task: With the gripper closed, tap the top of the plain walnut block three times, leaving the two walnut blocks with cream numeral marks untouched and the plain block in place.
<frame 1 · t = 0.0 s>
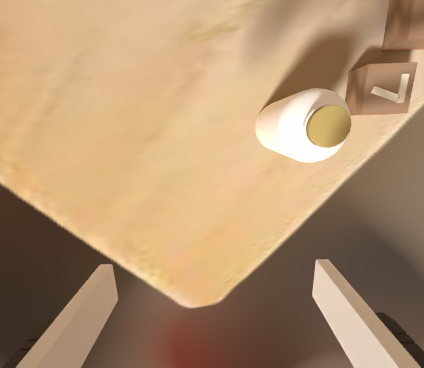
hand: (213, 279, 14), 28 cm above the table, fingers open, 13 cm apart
potion bottle: (277, 126, 39), on the table
marked block seven: (365, 93, 37), on the table
plain block: (407, 25, 34), on the table
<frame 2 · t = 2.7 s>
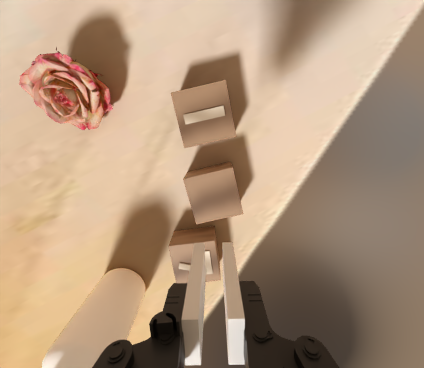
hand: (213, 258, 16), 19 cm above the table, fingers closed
potion bottle: (125, 283, 40), on the table
marked block seven: (197, 246, 38), on the table
plain block: (213, 187, 35), on the table
flower: (91, 98, 32), on the table
marked block one: (205, 117, 32), on the table
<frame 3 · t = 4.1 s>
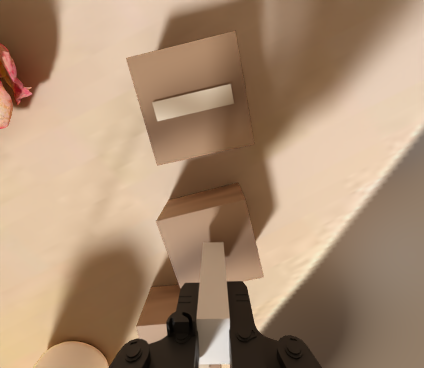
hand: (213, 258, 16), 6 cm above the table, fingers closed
potion bottle: (80, 360, 27), on the table
marked block seven: (186, 308, 25), on the table
plain block: (212, 222, 22), on the table
flower: (0, 77, 18), on the table
marked block one: (198, 109, 19), on the table
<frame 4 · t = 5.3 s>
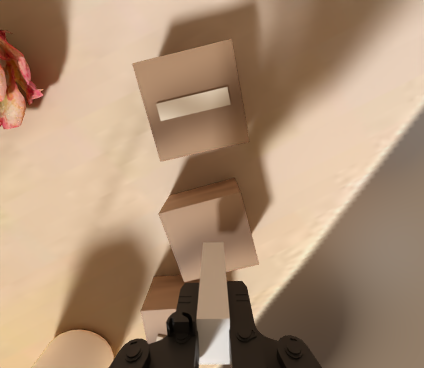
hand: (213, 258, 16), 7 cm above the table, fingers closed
potion bottle: (85, 348, 28), on the table
marked block seven: (187, 298, 26), on the table
plain block: (210, 216, 23), on the table
flower: (12, 79, 20), on the table
marked block one: (197, 109, 20), on the table
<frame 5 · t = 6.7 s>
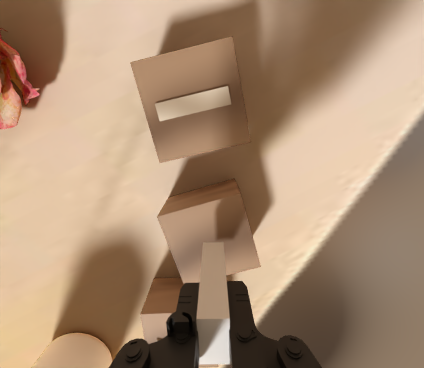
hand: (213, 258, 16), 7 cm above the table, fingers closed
potion bottle: (83, 351, 28), on the table
marked block seven: (186, 301, 26), on the table
plain block: (211, 217, 23), on the table
flower: (8, 78, 19), on the table
marked block one: (197, 109, 20), on the table
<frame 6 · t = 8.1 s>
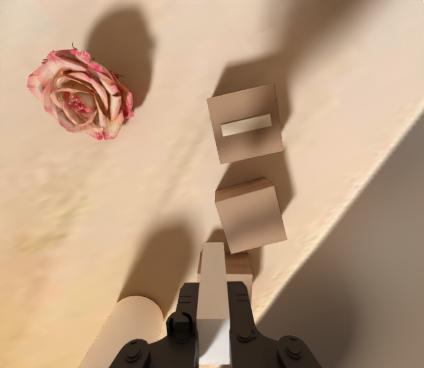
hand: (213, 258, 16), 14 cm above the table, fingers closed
potion bottle: (140, 312, 35), on the table
marked block seven: (223, 272, 33), on the table
plain block: (246, 206, 30), on the table
flower: (108, 103, 27), on the table
marked block one: (241, 126, 28), on the table
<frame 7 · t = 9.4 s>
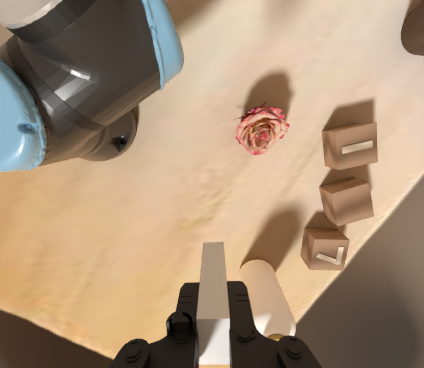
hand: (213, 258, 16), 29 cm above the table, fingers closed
potion bottle: (255, 272, 51), on the table
marked block seven: (317, 242, 48), on the table
plant pot: (422, 31, 38), on the table
plain block: (338, 197, 46), on the table
flower: (256, 130, 42), on the table
marked block one: (340, 144, 43), on the table
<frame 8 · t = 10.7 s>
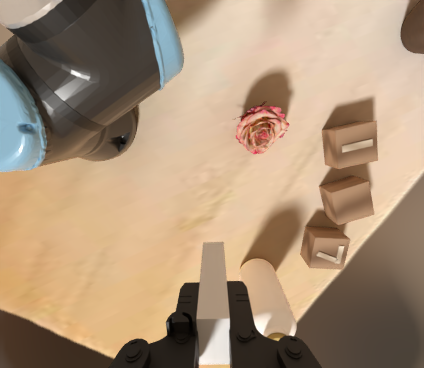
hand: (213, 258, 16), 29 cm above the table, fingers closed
potion bottle: (256, 271, 51), on the table
marked block seven: (317, 241, 49), on the table
plant pot: (421, 29, 38), on the table
plain block: (338, 195, 46), on the table
flower: (256, 130, 42), on the table
marked block one: (340, 143, 43), on the table
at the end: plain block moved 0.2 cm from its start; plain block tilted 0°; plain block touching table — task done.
